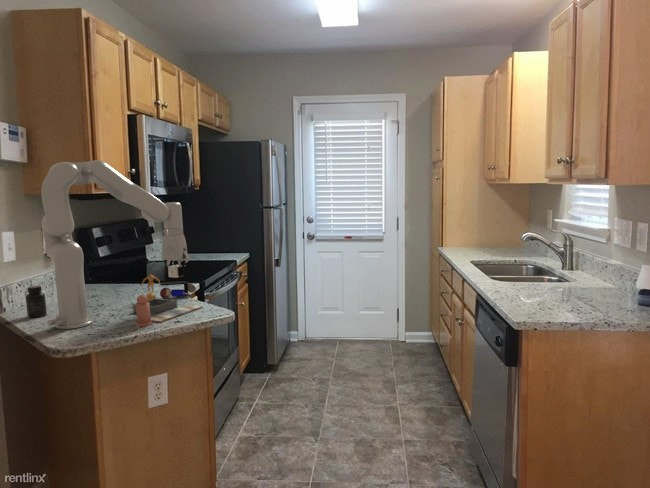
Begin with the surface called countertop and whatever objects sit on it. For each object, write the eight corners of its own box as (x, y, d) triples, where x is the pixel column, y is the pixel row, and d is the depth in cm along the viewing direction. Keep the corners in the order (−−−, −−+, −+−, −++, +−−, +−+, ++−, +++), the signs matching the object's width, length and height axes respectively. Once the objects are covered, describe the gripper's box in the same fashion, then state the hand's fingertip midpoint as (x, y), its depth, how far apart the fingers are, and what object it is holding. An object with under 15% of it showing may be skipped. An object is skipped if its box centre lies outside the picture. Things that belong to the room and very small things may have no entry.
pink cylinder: (144, 327, 188) (141, 297, 186) (133, 326, 190) (131, 296, 189) (154, 323, 192) (152, 294, 191) (144, 322, 195) (142, 293, 193)
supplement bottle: (30, 314, 213) (27, 286, 211) (48, 313, 214) (46, 284, 213) (25, 319, 206) (22, 289, 205) (44, 317, 208) (41, 287, 206)
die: (177, 277, 215) (176, 266, 214) (168, 277, 217) (167, 265, 216) (185, 275, 219) (184, 264, 218) (176, 275, 221) (175, 264, 221)
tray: (155, 314, 206) (155, 307, 205) (133, 312, 211) (133, 304, 211) (177, 307, 216) (176, 300, 216) (155, 305, 222) (154, 298, 221)
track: (160, 322, 193) (160, 321, 193) (144, 320, 196) (144, 319, 196) (202, 307, 214) (202, 306, 214) (187, 306, 218) (187, 304, 218)
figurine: (140, 303, 226) (137, 276, 225) (144, 300, 232) (142, 273, 231) (159, 302, 226) (157, 275, 225) (163, 299, 232) (161, 272, 231)
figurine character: (192, 296, 243) (158, 297, 236) (193, 280, 243) (159, 280, 236) (195, 299, 237) (160, 300, 230) (196, 282, 237) (161, 282, 230)
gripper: (151, 233, 216) (154, 276, 219) (183, 233, 209) (186, 278, 211) (164, 231, 223) (167, 273, 225) (195, 231, 215) (198, 275, 218)
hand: (176, 275), depth 218 cm, fingers closed on die, 4 cm apart
